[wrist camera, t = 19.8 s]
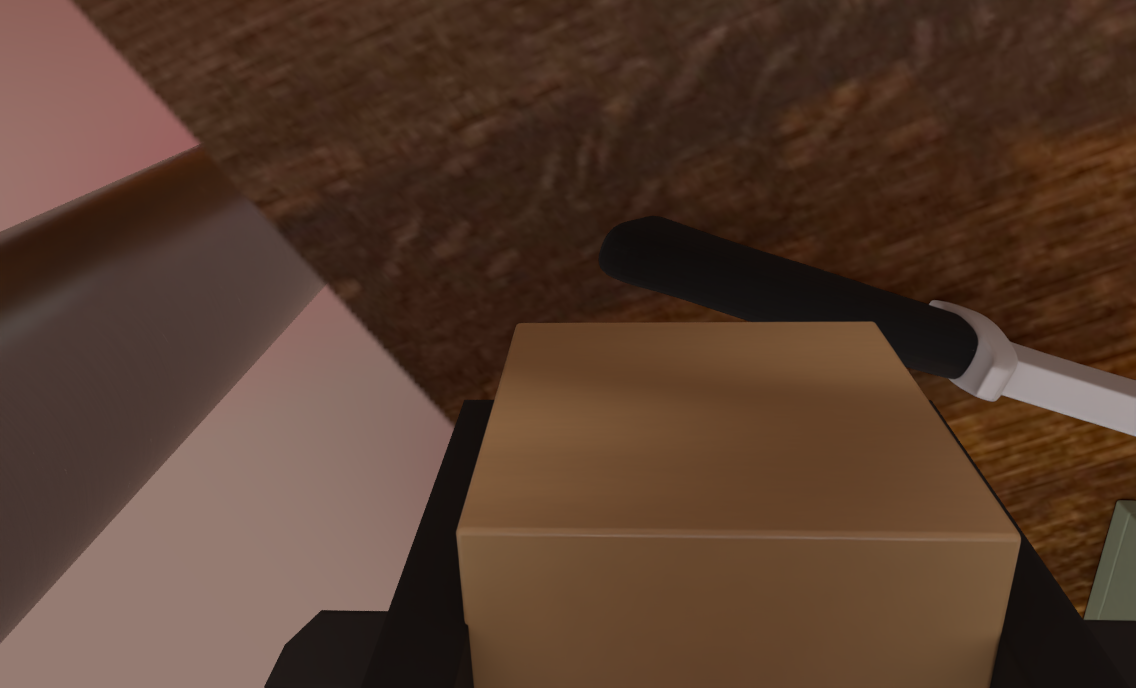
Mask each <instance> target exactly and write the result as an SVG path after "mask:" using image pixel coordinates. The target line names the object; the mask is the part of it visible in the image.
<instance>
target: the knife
mask: <svg viewBox="0 0 1136 688" xmlns="http://www.w3.org/2000/svg"><path fill="white" fill-rule="evenodd" d="M599 265H600V268H601V269H602V270H603V271H604V272H605V273H606V274H607V275H609V276H611V277H613V278H615V279H617V280H620V281H622V282H625V283H628V284H631V285H635V286H638V287H642V288H645V289H649V290H653V291H656V292H660V293H664V294H667V295H670V296H674V297H677V298H680V299H683V300H686V301H689V302H692V303H695V304H699V305H702V306H705V307H708V308H711V309H714V310H717V311H720V312H723V313H726V314H729V315H732V316H735V317H738V318H741V319H744V320H747V321H750V322H874V323H876V325H877V326H878V328H879V329H880V331H881V332H882V334H883V335H884V337H885V338H886V340H887V341H888V342H889V344H890V345H891V347H892V348H893V350H894V351H895V353H896V354H897V356H898V357H899V359H900V360H901V361H902V363H903V364H904V366H905V367H908V368H912V369H915V370H919V371H923V372H926V373H930V374H934V375H937V376H941V377H945V378H949V379H950V380H951V381H952V382H953V383H954V384H956V385H957V386H958V387H960V388H962V389H963V390H965V391H967V392H968V393H970V394H972V395H974V396H976V397H978V398H981V399H984V400H988V401H996V400H997V399H998V398H999V397H1000V395H1004V396H1007V397H1010V398H1013V399H1017V400H1020V401H1023V402H1026V403H1030V404H1033V405H1036V406H1039V407H1043V408H1046V409H1049V410H1052V411H1056V412H1059V413H1062V414H1065V415H1068V416H1072V417H1075V418H1078V419H1081V420H1085V421H1088V422H1091V423H1094V424H1098V425H1101V426H1104V427H1107V428H1110V429H1114V430H1117V431H1120V432H1123V433H1127V434H1130V435H1133V436H1136V380H1132V379H1129V378H1126V377H1122V376H1119V375H1115V374H1112V373H1108V372H1105V371H1102V370H1098V369H1095V368H1092V367H1088V366H1085V365H1082V364H1078V363H1075V362H1072V361H1069V360H1065V359H1062V358H1059V357H1056V356H1052V355H1049V354H1046V353H1043V352H1040V351H1037V350H1034V349H1031V348H1027V347H1024V346H1021V345H1018V344H1015V343H1012V342H1010V341H1009V340H1008V339H1007V337H1006V336H1005V335H1004V333H1003V332H1002V331H1001V330H1000V328H999V327H998V326H997V325H996V324H995V323H994V322H992V321H991V320H990V319H988V318H987V317H985V316H983V315H981V314H980V313H978V312H975V311H973V310H970V309H968V308H965V307H962V306H959V305H956V304H952V303H949V302H944V301H939V300H933V301H931V302H930V304H929V305H928V304H925V303H922V302H919V301H916V300H913V299H910V298H907V297H903V296H900V295H897V294H894V293H891V292H888V291H885V290H882V289H879V288H876V287H873V286H870V285H867V284H864V283H861V282H858V281H854V280H851V279H848V278H845V277H842V276H839V275H836V274H833V273H830V272H827V271H824V270H821V269H818V268H814V267H811V266H808V265H805V264H802V263H799V262H795V261H792V260H789V259H786V258H783V257H779V256H776V255H773V254H770V253H766V252H763V251H760V250H757V249H754V248H751V247H748V246H744V245H741V244H738V243H735V242H732V241H729V240H726V239H723V238H720V237H717V236H714V235H711V234H708V233H706V232H703V231H700V230H697V229H694V228H691V227H688V226H686V225H683V224H680V223H677V222H674V221H672V220H669V219H666V218H663V217H659V216H649V217H644V218H640V219H636V220H631V221H627V222H624V223H621V224H619V225H617V226H615V227H614V228H613V229H612V230H611V231H610V232H609V233H608V234H607V236H606V238H605V239H604V242H603V244H602V247H601V250H600V253H599Z"/></svg>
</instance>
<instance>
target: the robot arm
mask: <svg viewBox="0 0 1136 688" xmlns="http://www.w3.org/2000/svg"><path fill="white" fill-rule="evenodd" d="M928 401H929V402H930V404H931V405H932V407H933V408H934V410H935V411H936V413H937V414H938V415H939V417H940V418H941V420H942V421H943V423H944V424H945V426H946V427H947V429H948V430H949V431H950V433H951V434H952V436H953V437H954V439H955V440H956V442H957V443H958V445H959V446H960V448H961V449H962V450H963V452H964V453H965V455H966V456H967V458H968V459H969V461H970V462H971V464H972V465H973V467H974V468H975V469H976V471H977V472H978V474H979V475H980V477H981V478H982V480H983V481H984V483H985V484H986V485H987V487H988V488H989V490H990V491H991V493H992V494H993V496H994V497H995V499H996V500H997V502H998V503H999V504H1000V506H1001V507H1002V509H1003V510H1004V512H1005V513H1006V515H1007V516H1008V518H1009V519H1010V521H1011V522H1012V523H1013V525H1014V526H1015V528H1016V529H1017V531H1018V532H1019V534H1020V537H1021V544H1020V548H1019V553H1018V558H1017V562H1016V567H1015V572H1014V576H1013V581H1012V586H1011V590H1010V595H1009V600H1008V605H1007V609H1006V614H1005V619H1004V623H1003V628H1002V633H1001V637H1000V641H999V646H998V651H997V656H996V660H995V665H994V670H993V674H992V679H991V684H990V688H1136V621H1135V620H1083V619H1082V618H1081V616H1080V615H1079V613H1078V612H1077V610H1076V609H1075V607H1074V606H1073V605H1072V603H1071V602H1070V600H1069V599H1068V597H1067V596H1066V594H1065V593H1064V592H1063V590H1062V589H1061V587H1060V586H1059V584H1058V583H1057V581H1056V580H1055V579H1054V577H1053V576H1052V574H1051V573H1050V571H1049V570H1048V568H1047V567H1046V566H1045V564H1044V563H1043V561H1042V560H1041V558H1040V557H1039V555H1038V554H1037V553H1036V551H1035V550H1034V548H1033V547H1032V545H1031V544H1030V542H1029V541H1028V540H1027V538H1026V537H1025V535H1024V534H1023V532H1022V531H1021V529H1020V528H1019V527H1018V525H1017V524H1016V522H1015V521H1014V519H1013V518H1012V516H1011V515H1010V514H1009V512H1008V511H1007V509H1006V508H1005V506H1004V505H1003V503H1002V502H1001V501H1000V499H999V498H998V496H997V495H996V493H995V492H994V490H993V489H992V488H991V486H990V485H989V483H988V482H987V480H986V479H985V477H984V476H983V475H982V473H981V472H980V470H979V469H978V467H977V466H976V464H975V463H974V462H973V460H972V459H971V457H970V456H969V454H968V453H967V451H966V450H965V449H964V447H963V446H962V444H961V443H960V441H959V440H958V438H957V437H956V436H955V434H954V433H953V431H952V430H951V428H950V427H949V425H948V424H947V423H946V421H945V420H944V418H943V417H942V415H941V414H940V412H939V411H938V410H937V408H936V407H935V405H934V404H933V402H932V401H931V400H928ZM493 404H494V400H464V403H463V406H462V408H461V411H460V414H459V417H458V419H457V422H456V425H455V428H454V431H453V433H452V436H451V439H450V442H449V444H448V447H447V450H446V453H445V455H444V458H443V461H442V464H441V467H440V469H439V472H438V475H437V478H436V480H435V483H434V486H433V489H432V492H431V494H430V497H429V500H428V503H427V505H426V508H425V511H424V514H423V517H422V519H421V522H420V525H419V527H418V530H417V533H416V536H415V539H414V542H413V544H412V547H411V550H410V552H409V555H408V558H407V561H406V564H405V566H404V569H403V572H402V575H401V577H400V580H399V583H398V586H397V588H396V591H395V594H394V597H393V599H392V602H391V605H390V608H389V610H388V611H331V610H322V611H320V612H319V613H318V614H317V615H316V616H315V617H314V618H313V619H312V620H311V621H310V622H309V623H308V624H306V626H304V627H303V628H302V629H301V630H300V631H299V632H298V633H297V634H296V635H295V636H294V637H293V638H292V639H291V640H290V641H289V642H288V643H286V644H285V646H284V648H283V650H282V652H281V654H280V656H279V658H278V660H277V662H276V664H275V666H274V668H273V670H272V672H271V674H270V676H269V678H268V680H267V682H266V684H265V686H264V687H265V688H474V682H473V671H472V660H471V650H470V639H469V628H468V625H467V624H465V621H464V611H463V600H462V590H461V579H460V569H459V558H458V547H457V537H456V531H457V527H458V524H459V520H460V517H461V513H462V510H463V507H464V503H465V500H466V496H467V493H468V489H469V486H470V483H471V479H472V476H473V472H474V469H475V465H476V462H477V459H478V455H479V452H480V448H481V445H482V441H483V438H484V435H485V431H486V428H487V424H488V421H489V417H490V414H491V410H492V407H493Z"/></svg>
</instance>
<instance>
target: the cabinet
mask: <svg viewBox="0 0 1136 688" xmlns="http://www.w3.org/2000/svg"><path fill="white" fill-rule="evenodd" d="M1083 620H1135V621H1136V501H1127V500H1118V501H1117V503H1116V507H1115V510H1114V514H1113V517H1112V521H1111V524H1110V528H1109V531H1108V535H1107V538H1106V542H1105V545H1104V549H1103V552H1102V556H1101V559H1100V563H1099V566H1098V570H1097V573H1096V577H1095V580H1094V584H1093V587H1092V591H1091V594H1090V598H1089V601H1088V605H1087V608H1086V612H1085V616H1084V619H1083Z"/></svg>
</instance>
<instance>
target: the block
mask: <svg viewBox="0 0 1136 688" xmlns="http://www.w3.org/2000/svg"><path fill="white" fill-rule="evenodd" d="M456 537H457V547H458V558H459V569H460V579H461V590H462V600H463V611H464V621H465V624H467V625H468V628H469V639H470V650H471V660H472V671H473V682H474V688H990V684H991V679H992V674H993V670H994V665H995V660H996V656H997V651H998V646H999V641H1000V637H1001V633H1002V628H1003V623H1004V619H1005V614H1006V609H1007V605H1008V600H1009V595H1010V590H1011V586H1012V581H1013V576H1014V572H1015V567H1016V562H1017V558H1018V553H1019V548H1020V544H1021V537H1020V534H1019V532H1018V531H1017V529H1016V528H1015V526H1014V525H1013V523H1012V522H1011V521H1010V519H1009V518H1008V516H1007V515H1006V513H1005V512H1004V510H1003V509H1002V507H1001V506H1000V504H999V503H998V502H997V500H996V499H995V497H994V496H993V494H992V493H991V491H990V490H989V488H988V487H987V485H986V484H985V483H984V481H983V480H982V478H981V477H980V475H979V474H978V472H977V471H976V469H975V468H974V467H973V465H972V464H971V462H970V461H969V459H968V458H967V456H966V455H965V453H964V452H963V450H962V449H961V448H960V446H959V445H958V443H957V442H956V440H955V439H954V437H953V436H952V434H951V433H950V431H949V430H948V429H947V427H946V426H945V424H944V423H943V421H942V420H941V418H940V417H939V415H938V414H937V413H936V411H935V410H934V408H933V407H932V405H931V404H930V402H929V401H928V399H927V398H926V396H925V395H924V394H923V392H922V391H921V389H920V388H919V386H918V385H917V383H916V382H915V380H914V379H913V377H912V376H911V375H910V373H909V372H908V370H907V369H906V367H905V366H904V364H903V363H902V361H901V360H900V359H899V357H898V356H897V354H896V353H895V351H894V350H893V348H892V347H891V345H890V344H889V342H888V341H887V340H886V338H885V337H884V335H883V334H882V332H881V331H880V329H879V328H878V326H877V325H876V323H874V322H667V323H519V324H517V325H516V328H515V332H514V335H513V338H512V342H511V345H510V349H509V352H508V356H507V359H506V362H505V366H504V369H503V373H502V376H501V380H500V383H499V386H498V390H497V393H496V397H495V400H494V404H493V407H492V410H491V414H490V417H489V421H488V424H487V428H486V431H485V435H484V438H483V441H482V445H481V448H480V452H479V455H478V459H477V462H476V465H475V469H474V472H473V476H472V479H471V483H470V486H469V489H468V493H467V496H466V500H465V503H464V507H463V510H462V513H461V517H460V520H459V524H458V527H457V531H456Z"/></svg>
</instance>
